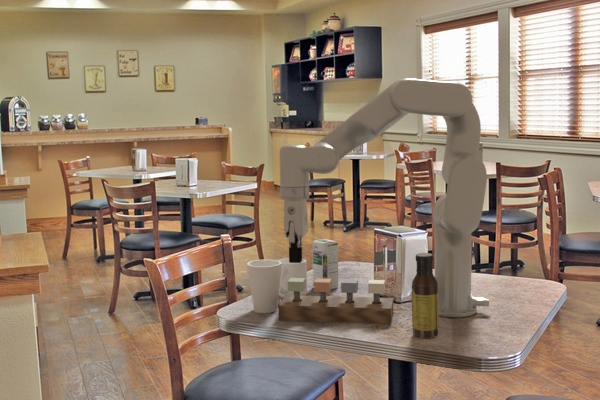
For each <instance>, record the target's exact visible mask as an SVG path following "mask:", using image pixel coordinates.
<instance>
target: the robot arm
mask: <svg viewBox="0 0 600 400" xmlns="http://www.w3.org/2000/svg"><path fill="white" fill-rule="evenodd" d="M408 114H415V115H425V116H437V117H443V120H444V122H445V125H446V141H445V147H444V148H445V149H444V154H443V155H444V156H443V161H442V167H441V175H442V180H443V181H444V182H445V183H446V184H447V185H446V193H445V194H442V195H440V197H438V199H437V200H436V201H435V203H434V206H433V210H432V212H433V213H432V217H433V218H432V219H433V231H434V277H435V278H436V280H437V283H438V314H439V317H444V318H466V317H472V316H473V315H476V314H477V312H478V309H477V307H478V306H479V307H489V306H490V299H487V298H484V297H475V296H473V292H472V253H473V252H472V251H473V250H472V249H473V248H472V247H473V246H472V244H473V243H472V241H473V240H472V233H473V232H475V231H476V230H477V228H478V227H479V225H480V223H481V219H482V215H483V209H484V203H485V197H486V188H487V182H488V181H487V180H488V176H487V175H488V174H487V173H488V172H487V168H486V166H485V163H484V161H483V160H481V159H480V158H479V153H480V144H481V143H480V141H481V132H482V128H481V127H482V126H481V120H480V119H481V118H480V116H479V113H478V110H477V107H476V106H475V105H474V102H473V95H472V92H471V91H470V89H469V88H468V86H467V85H465V84H463V83H461V82H458V81H457V82H454V81H444V80H443V81H442V80H441V81H440V80H439V81H438V80H429V79H418V78H409V77H408V78H401V79H398V80H396V81H394V82H393V83H391V84H390V85H389V86H387V87H386V88H385V89H383V90H382V91H380V93H378V94H377V95H376V96H374V98H372V99H371V100H370V101H368V102H367V103H366V104H365V105H363V106H362V107H361V108H359V109H358V110H356V111H355V112H354V113H353V114H352V115H350V116H349V117H348V118H347V119H346V120H345V121H343V122H342V123H341V124H339V125H338V126H337V127H336V128H334V129H333V130H332V131H330V132H329V133H328V134H326V135H325V136H324V137H322V138H321V139H320V140H319V141H317V142H316V143H315V144H314V145H313V146H311V145H310V146H306V145H303V144H285V145H282V146H281V147H280V149H279V192H280V193H279V194H280V196H279V197H280V198H279V199H280V200H283V232H284V233H283V234H284V237H285V238H288V258H289V262H290V263H301V262H302V259H303V246H302V243H303V242H302V241H303V240H302V239H303V238H304V237H305V236H306V235H307V234H308V233H309V222H308V221H309V220H308V218H309V217H308V216H309V215H308V201H307V200H308V199H310V173H313V174H319V175H327V174H331V173H333V172H334V171H335V170H336V169H337V168H338V166H339V163H340V160H342V159H343V158H344V157H346V156H347V155H348V154H350V153H351V152H352V151H354V150H355V149H358V148H359V147H360V146H362V145H364V144H366V143H370V142H372V141H373V140H376V139H377V138H379V137H380V136H381V135H382V134H383V133H385V132H386V131H387V130H389V129H390V128H391V127H392V126H394V125H395V124H397V123H398V122H399V121H401V120H402V119H403V118H404V117H406V116H407V115H408Z"/></svg>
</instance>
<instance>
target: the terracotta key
mask: <svg viewBox="0 0 600 400" xmlns="http://www.w3.org/2000/svg"><path fill="white" fill-rule="evenodd" d="M313 289H314V292H315V293H319V296H320V302H323V303H326V296H327V293H330V292H331V291H332V290H333V289H332V279H320V278H317V279H316V280H315V282H314V288H313Z"/></svg>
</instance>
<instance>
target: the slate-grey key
mask: <svg viewBox="0 0 600 400" xmlns="http://www.w3.org/2000/svg"><path fill="white" fill-rule="evenodd" d="M340 287H341V288H340V293H341V294H342V293H344V294H346V297H347V303H353V297H354V294H357V293H358V290H359V279H357V278H354V279H353V278H343V279H341V282H340Z"/></svg>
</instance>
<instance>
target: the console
mask: <svg viewBox="0 0 600 400" xmlns="http://www.w3.org/2000/svg"><path fill="white" fill-rule="evenodd" d="M277 309H278V321H288V322H290V321H293V322H315V323H316V322H320V323H326V322H327V323H353V324H381V325H392V322H393V321H392V320H393V317H394V297H380V304H374V296H372V297H368V296H366V297H365V296H363V297H362V296H353V303H347V296H336V295H335V296H333V295H331V296H330V295H329V296H328V295H326V303H323V302H320V295H305V296H300V302H294V295H286V296H285V297H284V298H283V297H282V300H281V301H280V303H278V307H277Z"/></svg>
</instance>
